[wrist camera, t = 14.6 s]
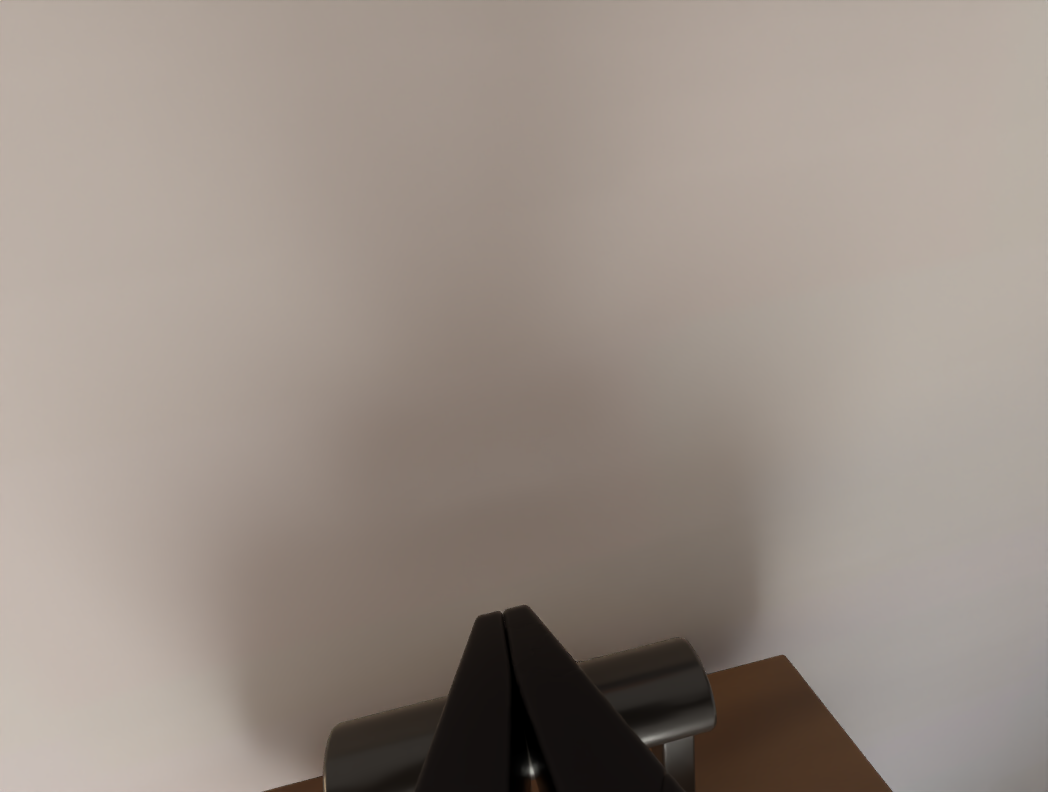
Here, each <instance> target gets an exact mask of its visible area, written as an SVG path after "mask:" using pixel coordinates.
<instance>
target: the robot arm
mask: <svg viewBox="0 0 1048 792" xmlns="http://www.w3.org/2000/svg"><path fill="white" fill-rule="evenodd" d="M503 616H504V617H503ZM524 731H525V732H524ZM525 736H526V737H525ZM526 741H527V743H526ZM527 746H528V749H527ZM528 751H529V755H530V760H531V764H532V768H533V772H534V776H535V780H536V783H537V786H538V790H539V792H685V790H684V789H683V788H682V787H681V786H680V784H679V783H678V782H677V781H676V780H675V778H674V777H673V776H672V775H671V774H669V773H667V774H666V769H665V767H664V766H663V765H662V764H661V762H660V761H659V760H658V759H657V758H656V756H655V755H654V754H653V753H652V752H651V750H650V749H649V748H648V747H647V746H646V745H645V743H644V742H643V741H642V740H641V739H640V737H639V736H638V735H637V734H636V733H635V731H634V730H633V729H632V728H631V727H630V726H629V724H628V723H627V722H626V721H625V720H624V718H623V717H622V716H621V715H620V714H619V713H618V711H617V710H616V709H615V708H614V707H613V705H612V704H611V703H610V702H609V701H608V699H607V698H606V697H605V696H604V695H603V694H602V692H601V691H600V690H599V689H598V688H597V686H596V685H595V684H594V683H593V682H592V680H591V679H590V678H589V677H588V676H587V675H586V673H585V672H584V671H583V670H582V669H581V667H580V666H579V665H578V664H577V663H576V661H575V660H574V659H573V658H572V657H571V656H570V654H569V653H568V652H567V651H566V650H565V648H564V647H563V646H562V645H561V644H560V643H559V641H558V640H557V639H556V638H555V637H554V635H553V634H552V633H551V632H550V631H549V629H548V628H547V627H546V626H545V625H544V624H543V622H542V621H541V620H540V619H539V618H538V616H537V615H536V614H535V613H534V612H533V610H532V609H531V608H530V607H529V606H527V605H521V606H517V607H513V608H508V609H506V610H505V611H504V613H503V614H502V612H500V611H496V612H491V613H487V614H483V615H480V616H478V617H477V618H476V620H475V623H474V626H473V628H472V631H471V634H470V637H469V639H468V642H467V645H466V648H465V650H464V653H463V656H462V659H461V661H460V664H459V667H458V670H457V673H456V675H455V678H454V681H453V684H452V686H451V689H450V692H449V695H448V697H447V700H446V703H445V706H444V708H443V711H442V714H441V717H440V720H439V722H438V725H437V728H436V731H435V733H434V736H433V739H432V742H431V744H430V747H429V750H428V753H427V755H426V758H425V761H424V764H423V766H422V769H421V772H420V775H419V778H418V780H417V783H416V786H415V789H414V791H413V792H532V785H531V773H530V763H529V756H528Z"/></svg>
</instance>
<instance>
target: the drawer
mask: <svg viewBox="0 0 1048 792" xmlns="http://www.w3.org/2000/svg"><path fill="white" fill-rule="evenodd" d="M577 664H578V665H579V666H580V667H581V669H582V670H583V671H584V672H585V673H586V675H587V676H588V677H589V678H590V679H591V680H592V682H593V683H594V684H595V685H596V686H597V688H598V689H599V690H600V691H601V692H602V694H603V695H604V696H605V697H606V698H607V699H608V701H609V702H610V703H611V704H612V705H613V707H614V708H615V709H616V710H617V711H618V713H619V714H620V715H621V716H622V717H623V718H624V720H625V721H626V722H627V723H628V724H629V726H630V727H631V728H632V729H633V730H634V731H635V733H636V734H637V735H638V736H639V737H640V739H641V740H642V741H643V742H644V743H645V745H646V746H647V747H648V748H649V749H650V750H651V752H652V753H653V754H654V755H655V756H656V758H657V759H658V760H659V761H660V762H661V764H662V765H663V766H664V767H665V769H666V774H667V773H669V774H671V775H672V776H673V777H674V778H675V780H676V781H677V782H678V783H679V784H680V786H681V787H682V788H683V789H684V790H685V792H892V790H891V789H890V788H889V786H888V785H887V784H886V783H885V781H884V780H883V779H882V778H881V776H880V775H879V774H878V773H877V771H876V770H875V769H874V767H873V766H872V765H871V764H870V762H869V761H868V760H867V759H866V757H865V756H864V755H863V754H862V752H861V751H860V750H859V748H858V747H857V746H856V745H855V743H854V742H853V741H852V740H851V738H850V737H849V736H848V734H847V733H846V732H845V731H844V729H843V728H842V727H841V726H840V724H839V723H838V722H837V721H836V719H835V718H834V717H833V715H832V714H831V713H830V712H829V710H828V709H827V708H826V707H825V705H824V704H823V703H822V702H821V700H820V699H819V698H818V696H817V695H816V694H815V693H814V691H813V690H812V689H811V688H810V686H809V685H808V684H807V682H806V681H805V680H804V679H803V677H802V676H801V675H800V674H799V672H798V671H797V670H796V669H795V667H794V666H793V665H792V663H791V662H790V661H789V660H788V658H787V657H786V656H785V655H779V656H775V657H771V658H768V659H764V660H760V661H756V662H752V663H749V664H745V665H741V666H737V667H733V668H730V669H726V670H722V671H718V672H715V673H711V674H706V672H705V669H704V667H703V665H702V663H701V661H700V659H699V657H698V655H697V654H696V652H695V650H694V649H693V647H692V646H691V645H690V643H689V642H688V641H687V640H685V639H684V638H679V637H677V638H673V639H669V640H665V641H661V642H657V643H653V644H650V645H646V646H642V647H638V648H634V649H630V650H626V651H622V652H618V653H614V654H610V655H606V656H602V657H598V658H594V659H590V660H586V661H582V662H579V663H577ZM447 697H448V696H445V697H441V698H437V699H433V700H429V701H425V702H421V703H417V704H413V705H409V706H405V707H401V708H397V709H393V710H389V711H385V712H381V713H377V714H374V715H370V716H366V717H362V718H358V719H354V720H350V721H346V722H342V723H339V724H338V725H337V726H335V727H334V728H333V730H332V731H331V733H330V736H329V738H328V742H327V746H326V751H325V757H324V766H323V776H320V777H316V778H312V779H309V780H305V781H301V782H297V783H293V784H290V785H286V786H282V787H278V788H274V789H271V790H267V791H263V792H413V791H414V789H415V786H416V783H417V780H418V778H419V775H420V772H421V769H422V766H423V764H424V761H425V758H426V755H427V753H428V750H429V747H430V744H431V742H432V739H433V736H434V733H435V731H436V728H437V725H438V722H439V720H440V717H441V714H442V711H443V708H444V706H445V703H446V700H447ZM524 732H525V731H524ZM525 737H526V736H525ZM526 743H527V741H526ZM527 749H528V746H527ZM528 756H529V763H530V773H531V785H532V792H539V790H538V786H537V783H536V780H535V776H534V772H533V768H532V764H531V760H530V755H529V751H528Z"/></svg>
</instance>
